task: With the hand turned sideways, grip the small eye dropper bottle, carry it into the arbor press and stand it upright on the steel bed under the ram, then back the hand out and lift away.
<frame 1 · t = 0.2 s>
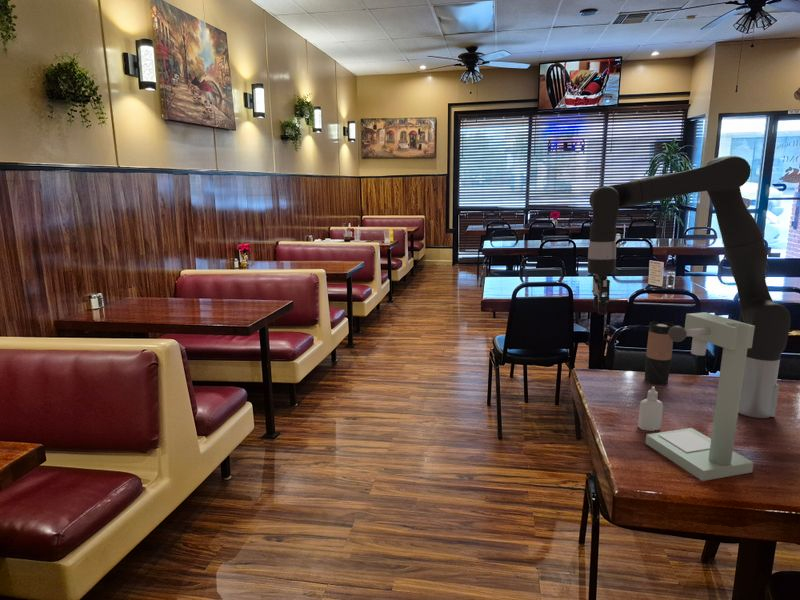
hand: (599, 311, 150), 29 cm above the table, tool pointing down, fingers open, 8 cm apart
eye dropper bottle: (648, 428, 139), on the table
travel mug: (656, 381, 174), on the table
arbor press: (686, 451, 127), on the table
wine bottle: (736, 388, 167), on the table
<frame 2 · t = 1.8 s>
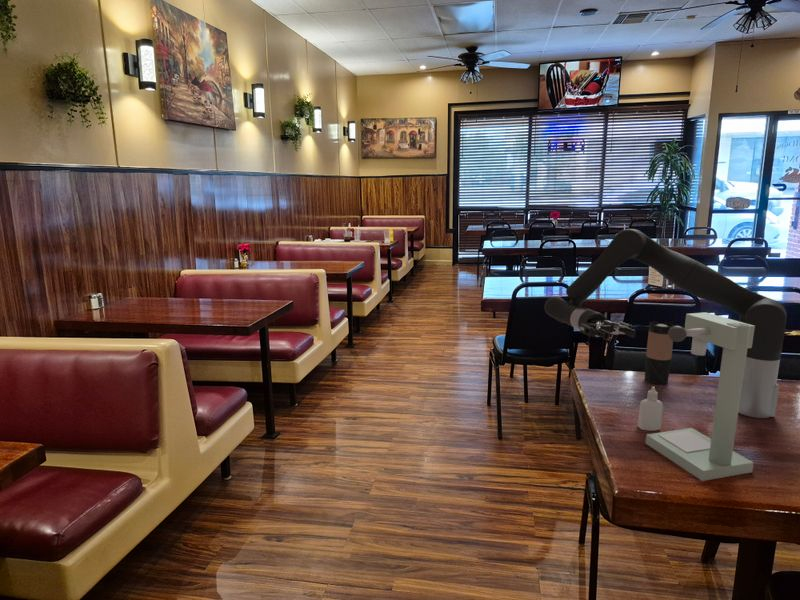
hand: (621, 335, 145), 23 cm above the table, tool horizontal, fingers open, 8 cm apart
nothing on the table moved.
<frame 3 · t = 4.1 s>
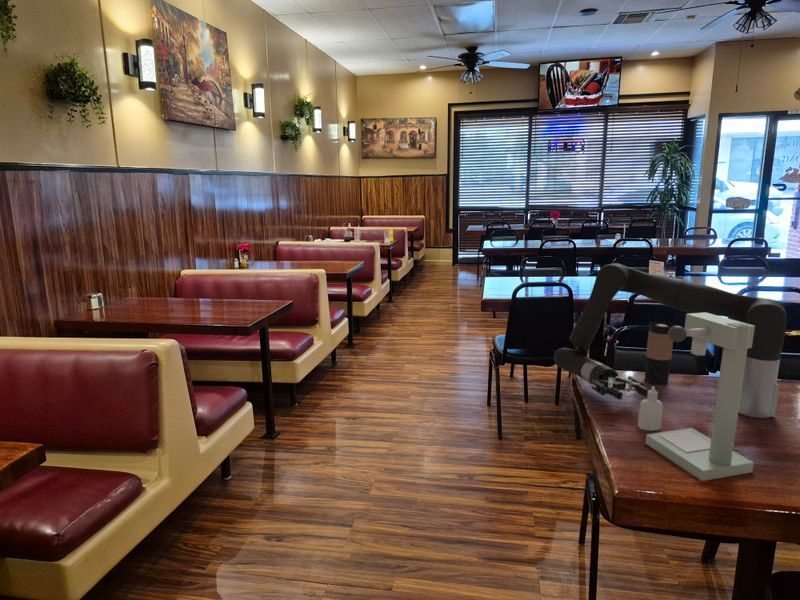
hand: (634, 394, 144), 7 cm above the table, tool horizontal, fingers open, 8 cm apart
nothing on the table moved.
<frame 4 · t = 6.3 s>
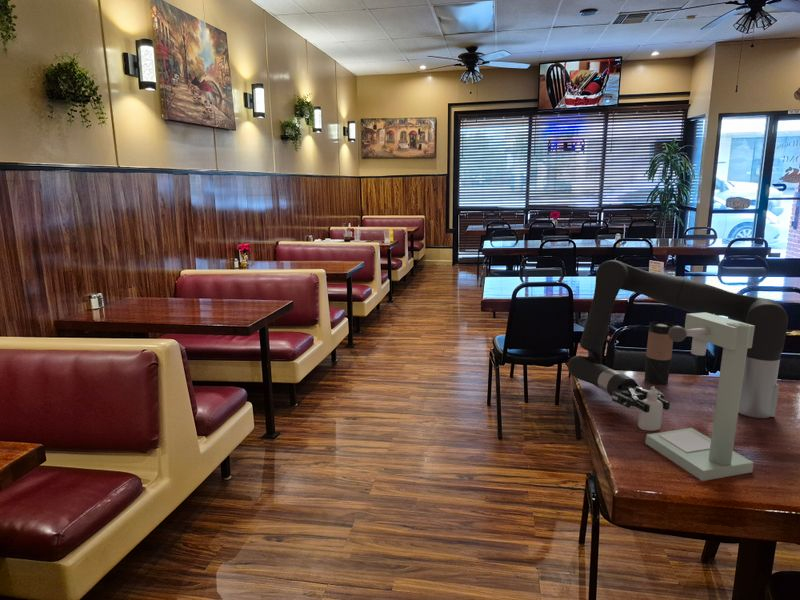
hand: (658, 407, 135), 7 cm above the table, tool horizontal, fingers closed on eye dropper bottle, 5 cm apart
eye dropper bottle: (649, 428, 139), on the table, touching gripper
everything else where it was.
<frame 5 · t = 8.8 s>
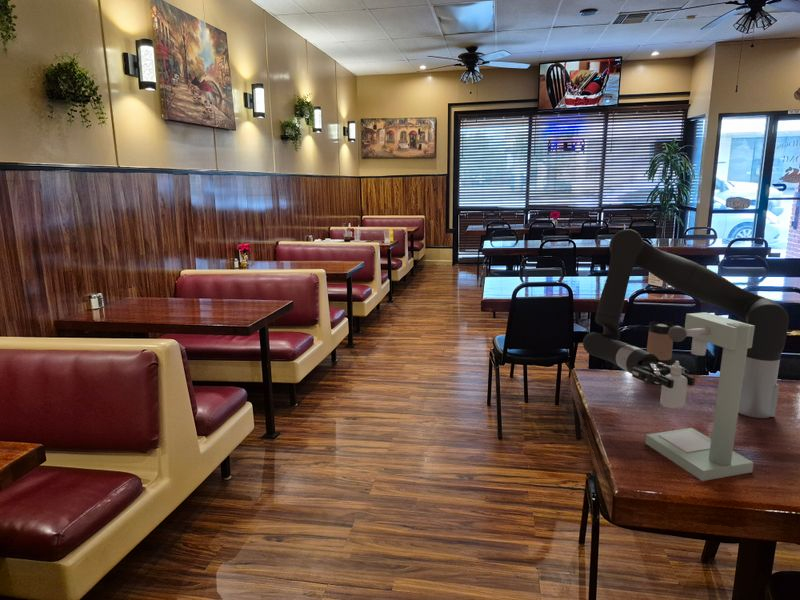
hand: (682, 383, 126), 17 cm above the table, tool horizontal, fingers closed on eye dropper bottle, 5 cm apart
eye dropper bottle: (672, 406, 130), point 9 cm above the table, touching gripper
everything else where it was.
when the fingers open (10 cm above the table, at t = 11.5 s): eye dropper bottle stays where it is, resting on arbor press.
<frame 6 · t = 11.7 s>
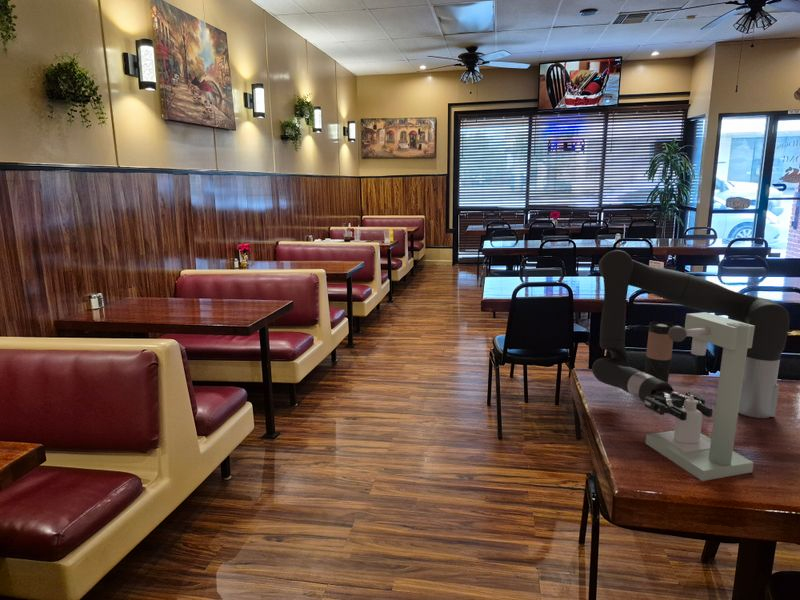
hand: (698, 415, 122), 11 cm above the table, tool horizontal, fingers open, 7 cm apart
eye dropper bottle: (686, 441, 126), point 3 cm above the table, touching arbor press
everything else where it was.
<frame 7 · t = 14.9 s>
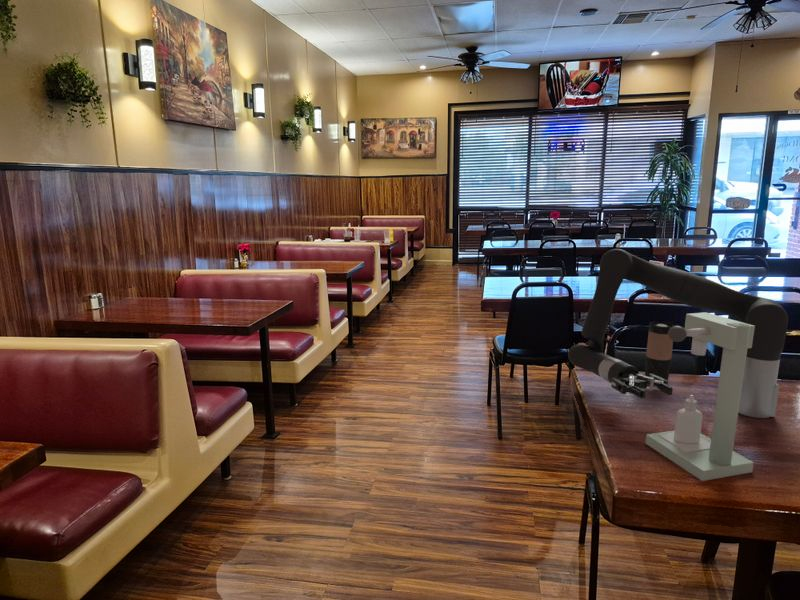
hand: (657, 393, 135), 11 cm above the table, tool horizontal, fingers open, 8 cm apart
nothing on the table moved.
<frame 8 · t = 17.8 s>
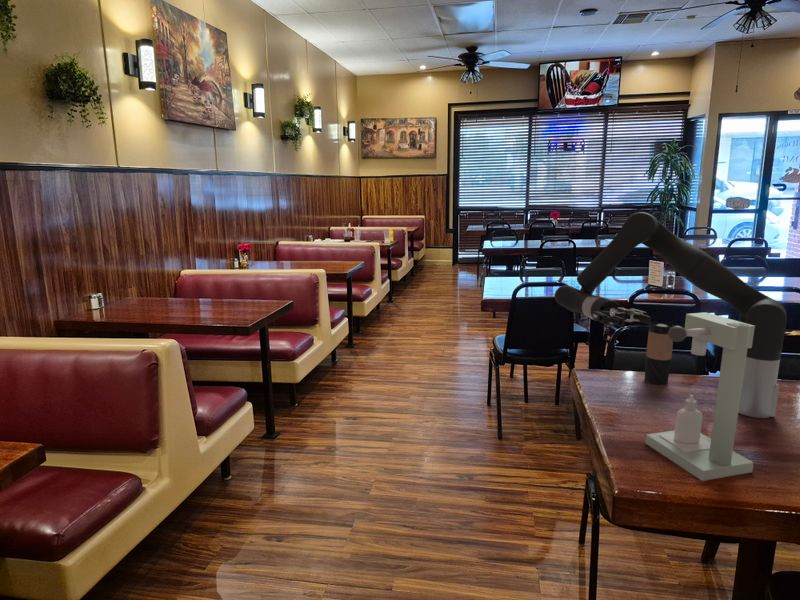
hand: (636, 321, 141), 28 cm above the table, tool horizontal, fingers open, 8 cm apart
nothing on the table moved.
at the end: eye dropper bottle 0.2 cm off-centre on the arbor press, point 2.6 cm above the arbor press's base; eye dropper bottle tilted 0°; the gripper is holding nothing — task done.
